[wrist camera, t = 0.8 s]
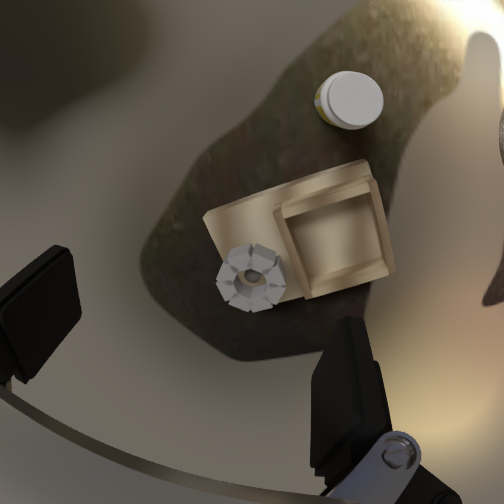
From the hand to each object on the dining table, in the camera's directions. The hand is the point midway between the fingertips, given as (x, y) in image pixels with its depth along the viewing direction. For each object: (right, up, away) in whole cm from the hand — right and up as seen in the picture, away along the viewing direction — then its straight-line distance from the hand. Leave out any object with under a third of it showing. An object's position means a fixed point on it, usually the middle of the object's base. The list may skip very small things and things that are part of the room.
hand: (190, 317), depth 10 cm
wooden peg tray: (+7, +4, +22) cm, 24 cm away
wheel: (+2, 0, +19) cm, 20 cm away
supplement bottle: (+10, +16, +16) cm, 25 cm away
